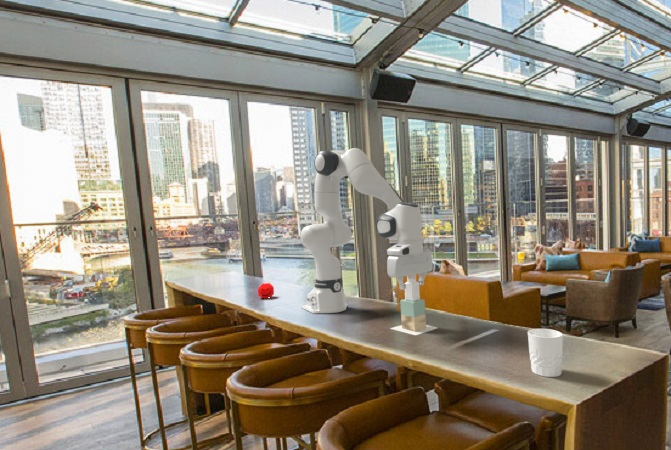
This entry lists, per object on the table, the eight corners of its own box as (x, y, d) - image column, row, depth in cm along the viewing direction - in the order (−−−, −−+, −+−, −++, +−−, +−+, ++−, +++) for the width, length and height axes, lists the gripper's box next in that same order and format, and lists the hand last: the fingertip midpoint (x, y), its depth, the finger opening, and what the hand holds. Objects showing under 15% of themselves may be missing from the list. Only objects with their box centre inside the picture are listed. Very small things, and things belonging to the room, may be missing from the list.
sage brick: (401, 314, 144) (400, 300, 144) (412, 311, 148) (411, 297, 147) (413, 317, 139) (413, 302, 139) (425, 313, 143) (424, 299, 143)
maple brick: (401, 328, 144) (401, 314, 144) (413, 324, 148) (412, 311, 147) (414, 331, 139) (414, 317, 139) (426, 327, 143) (425, 313, 143)
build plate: (389, 331, 144) (389, 328, 144) (412, 324, 152) (412, 321, 152) (415, 338, 135) (415, 335, 135) (438, 330, 142) (438, 327, 142)
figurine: (411, 313, 169) (410, 284, 168) (404, 316, 164) (402, 286, 164) (395, 310, 174) (393, 283, 174) (387, 313, 170) (385, 285, 169)
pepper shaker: (414, 301, 140) (412, 274, 140) (404, 300, 143) (403, 273, 143) (420, 299, 143) (419, 272, 143) (411, 298, 146) (409, 272, 146)
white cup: (555, 365, 106) (553, 328, 106) (570, 378, 98) (568, 337, 98) (524, 366, 107) (522, 329, 106) (536, 378, 99) (535, 338, 99)
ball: (258, 300, 213) (257, 285, 213) (259, 297, 221) (258, 283, 221) (273, 299, 213) (272, 284, 213) (274, 296, 221) (273, 282, 221)
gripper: (422, 245, 152) (424, 282, 152) (383, 250, 139) (385, 290, 139) (436, 245, 147) (437, 283, 147) (396, 251, 134) (398, 292, 134)
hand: (411, 287), depth 143 cm, fingers open, 8 cm apart
